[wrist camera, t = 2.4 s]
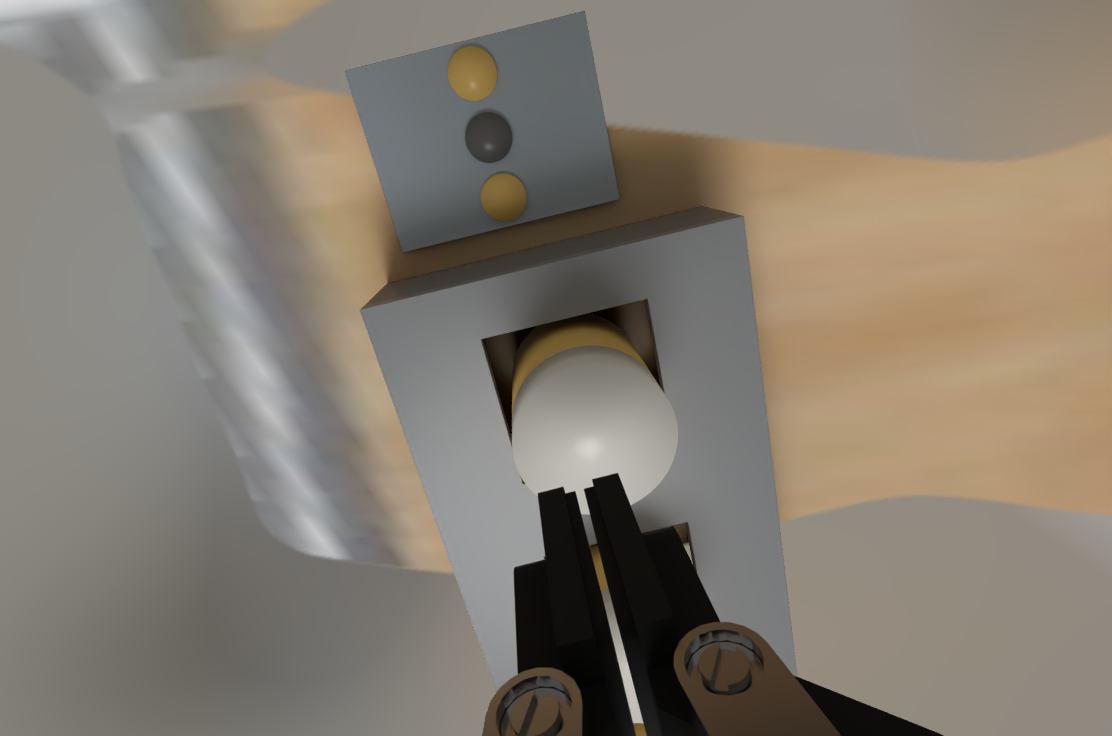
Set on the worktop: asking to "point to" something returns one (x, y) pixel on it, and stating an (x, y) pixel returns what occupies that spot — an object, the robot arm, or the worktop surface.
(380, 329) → the button board
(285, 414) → the worktop surface
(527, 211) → the card
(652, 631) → the robot arm
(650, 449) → the button
